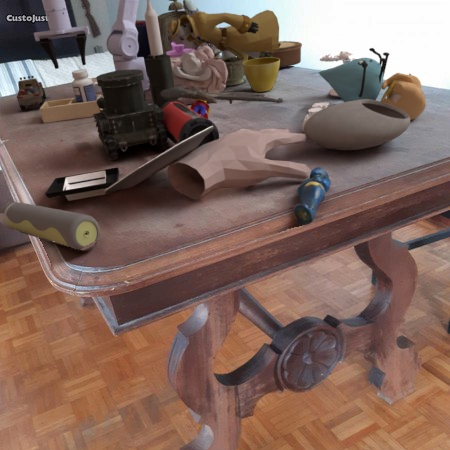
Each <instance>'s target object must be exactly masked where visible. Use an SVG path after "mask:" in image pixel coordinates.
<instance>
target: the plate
mask: <svg viewBox="0 0 450 450" xmlns="http://www.w3.org/2000/svg"><path fill="white" fill-rule="evenodd" d="M213 129H214V127H213V126H211V127H209V128H207V129H205V130H203V131H201V132H199V133H197V134H195V135H193V136H191V137H189V138H188V139H186V140H184V141H182V142H180V143H179V144H177V145H176V144H174V146H172V147H170V148H168V149H166V150H165V151H164V152H162V153H160V154H159V155H157V156H155V157H154V158H152V159H150V160H149V161H147V162H145V163H143V164H142V165H140V166H139V167H136V168H135V169H133V170H132V171H130V172H129V173H127V174H125V176H123V177H122V178H119V181H117V182H116V183H115V184H113V185H112V186H110V187H109V188H107V189H106V190H105V191H104V192H105V193H107V194H112V193H113V192H116V191H120V190H125V189H131V188H133V187H134V186H137V185H139V184H140V183H142V182H143V181H146V180H147V179H149V178H150V177H152V176H154V175H156V174H157V173H159V172H161V171H162V170H164V169H165V168H168V167H169V165H170V164H171V163H173V162H174V161H176V160H177V159H179V158H181V157H183V156H184V155H186V154H188V153H190V152H191V151H193V150H194V149H195V148H197V147H198V145H199V144H200V143H201V141H202V140H203V139H204V137H205V136H207V135H208V134H209V133H210V132H211V131H212V130H213Z"/></svg>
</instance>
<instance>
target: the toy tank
mask: <svg viewBox="0 0 450 450" xmlns="http://www.w3.org/2000/svg"><path fill="white" fill-rule="evenodd" d="M96 79H97V83H96V84H97V86H98V87H99V88H100V89H101V92H102V96H103V97H101V98H99V99H97V105H98V107H99V109H100V108H101V109H103V110H100V113H96V114H94V115H93V116H92V117H93V118H94V122H95V127H96V128H97V134H98V138H99V140H100V142H101V144H102V147H103V149H104V152H105V153H106V155H107V157H108V159H109V160H110V161H116V160H118V159H119V157H118V155H119V154H118V153H119V152H118V149H120V150H121V151H122V152H126V151H127V149H128V147H132V146H133V147H134V146H137V145H141V144H147V143H150V145H151V146H155V147H156V148H157V149H159V150H160V151H162V150H168V149H170V148H169V147H170V146H169V145H170V144H169V143H170V142H169V141H168V140H169V138H168V136H166V129H165V130H164V125H162V123H161V122H159V121H158V120H163V119H165V118H164V112H163V110H162V109H161V108H160V107H158V106H157V105H156V104H153V103H152V104H149V103H148V102H147V97H146V92H145V91H143V86H142V81H143V80H144V75H143V71H142V70H138V69H131V70H117V71H115V70H112V71H109V72H105V73H101V74H99V75H97V76H96ZM123 148H125V149H123Z"/></svg>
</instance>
